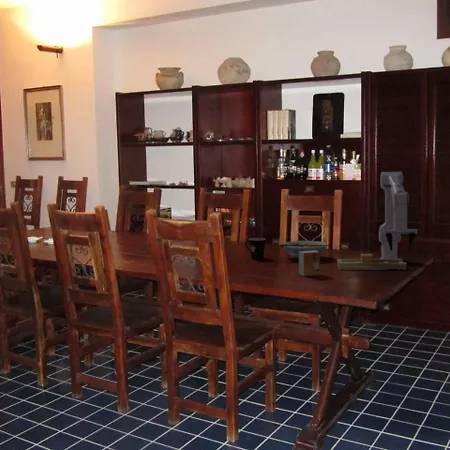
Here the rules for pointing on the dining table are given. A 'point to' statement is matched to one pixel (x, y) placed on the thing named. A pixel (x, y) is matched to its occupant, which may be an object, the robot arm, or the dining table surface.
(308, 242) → the ramen bowl
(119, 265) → the dining table surface
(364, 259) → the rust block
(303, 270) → the small box
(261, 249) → the coffee mug
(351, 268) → the trap lane
